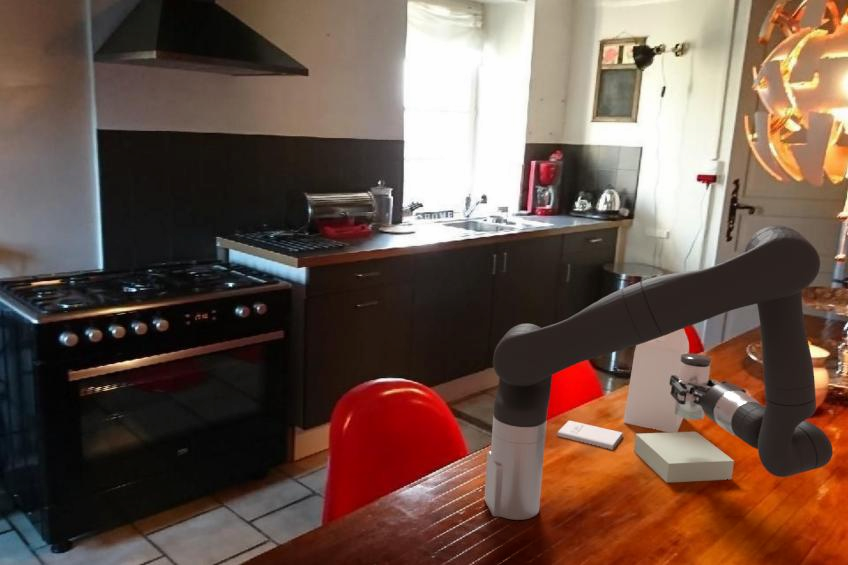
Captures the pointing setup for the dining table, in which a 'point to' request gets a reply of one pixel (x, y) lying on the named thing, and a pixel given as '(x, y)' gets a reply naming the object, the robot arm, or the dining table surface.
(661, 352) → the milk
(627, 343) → the robot arm
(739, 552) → the dining table surface
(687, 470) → the stand
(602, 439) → the external hard drive
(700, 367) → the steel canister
